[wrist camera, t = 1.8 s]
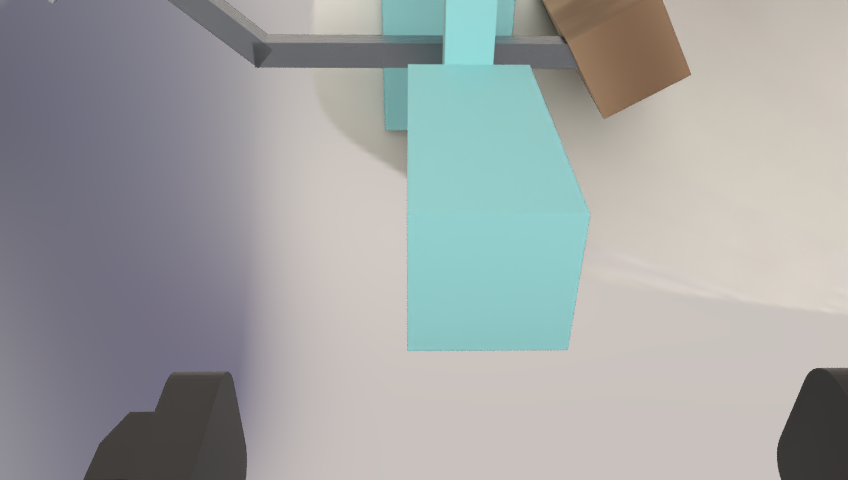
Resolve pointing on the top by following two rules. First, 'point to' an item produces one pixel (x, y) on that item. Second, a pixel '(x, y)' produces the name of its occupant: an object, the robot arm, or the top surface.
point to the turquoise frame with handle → (482, 188)
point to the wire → (359, 45)
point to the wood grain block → (620, 48)
